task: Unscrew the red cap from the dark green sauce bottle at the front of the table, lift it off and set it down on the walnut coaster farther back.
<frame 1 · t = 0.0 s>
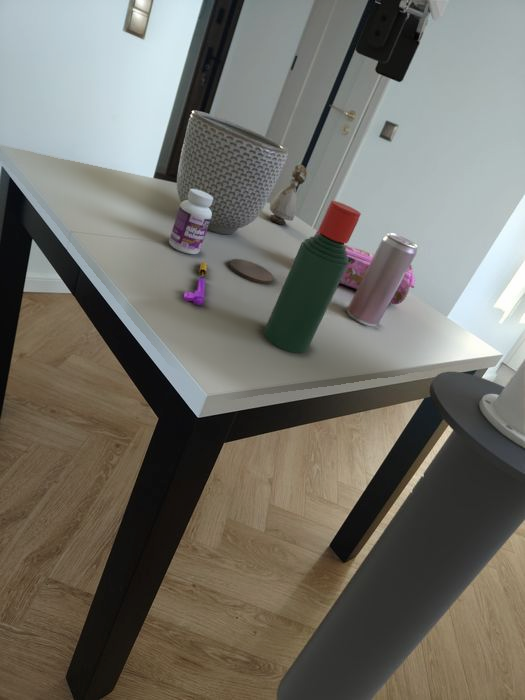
hand: (379, 68, 50), 33 cm above the table, tool pointing down, fingers open, 9 cm apart
coaster: (251, 272, 88), on the table
bottle: (285, 339, 69), on the table
purple tool: (195, 284, 75), on the table
pencil case: (348, 289, 102), on the table
cap: (344, 210, 61), point 19 cm above the table, screwed on, not yet turned
figurine: (277, 222, 130), on the table
planter: (209, 225, 104), on the table
beverage can: (361, 319, 89), on the table
pill bottle: (183, 249, 86), on the table
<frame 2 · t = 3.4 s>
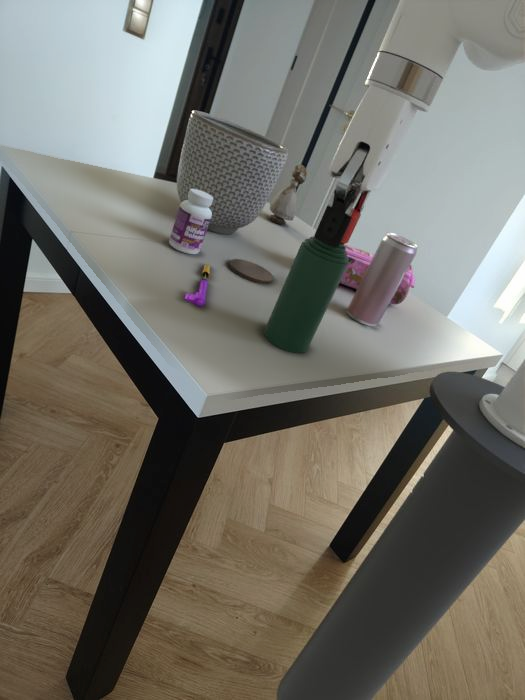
hand: (331, 239, 63), 15 cm above the table, tool pointing down, fingers closed on cap, 3 cm apart
cap: (344, 210, 61), point 19 cm above the table, screwed on, not yet turned, touching gripper
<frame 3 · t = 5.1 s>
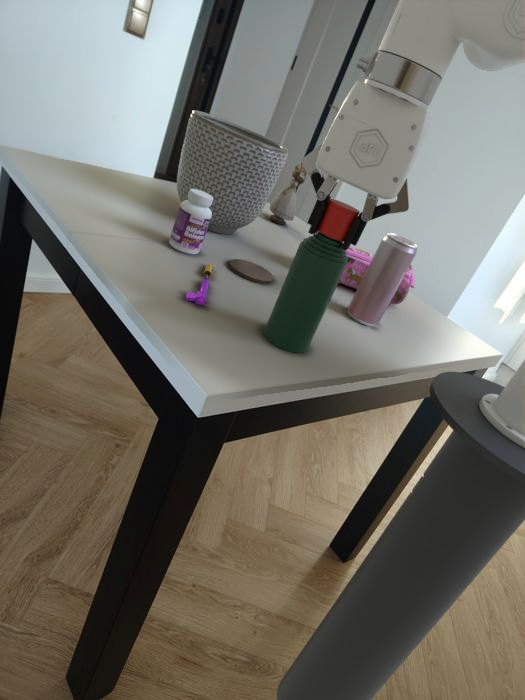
hand: (329, 238, 63), 15 cm above the table, tool pointing down, fingers closed on cap, 3 cm apart
cap: (343, 208, 61), point 19 cm above the table, turned 96° so far, risen 0.1 cm, still on its thread, touching gripper
everything else where it was.
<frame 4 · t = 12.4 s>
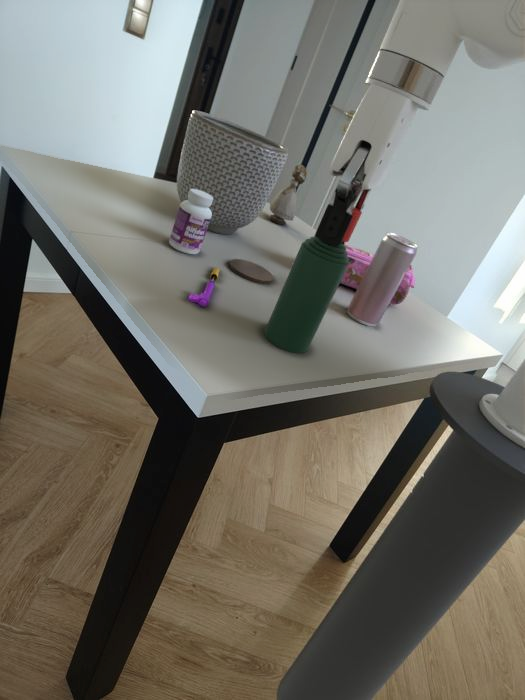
hand: (331, 238, 62), 15 cm above the table, tool pointing down, fingers closed on cap, 3 cm apart
cap: (345, 208, 61), point 19 cm above the table, turned 191° so far, risen 0.2 cm, still on its thread, touching gripper
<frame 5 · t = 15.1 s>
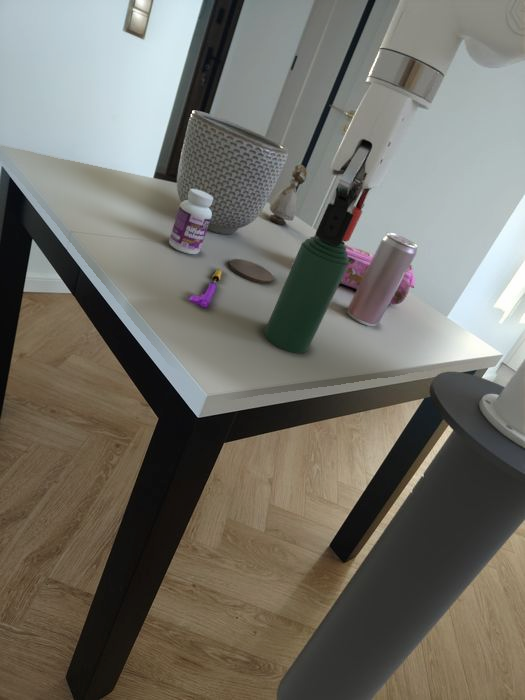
hand: (332, 237, 62), 15 cm above the table, tool pointing down, fingers closed on cap, 3 cm apart
cap: (346, 208, 61), point 19 cm above the table, turned 287° so far, risen 0.3 cm, still on its thread, touching gripper
when the fingers open (2 cm above the table, at t = 28.2 s): cap drops 2 cm, resting on coaster.
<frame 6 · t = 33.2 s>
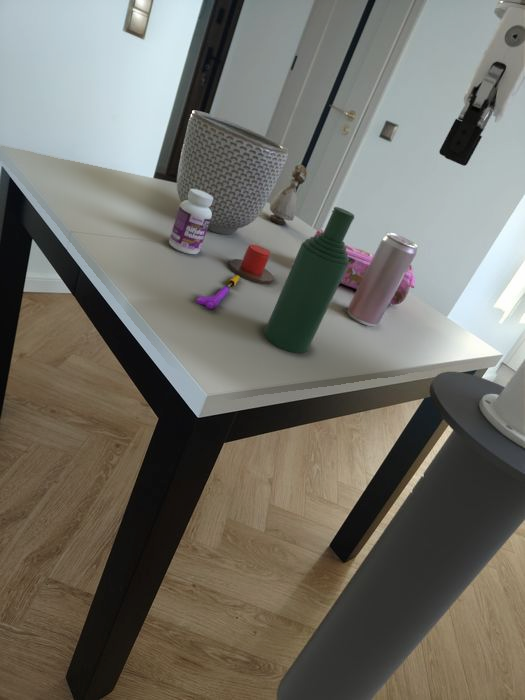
hand: (452, 160, 64), 28 cm above the table, tool pointing down, fingers open, 9 cm apart
purple tool: (218, 292, 75), on the table
cap: (258, 251, 86), point 4 cm above the table, off its thread, touching coaster
everything else where it was.
at the end: cap came off its thread; cap 0.1 cm off-centre on the coaster, point 4.0 cm above the coaster's base; the gripper is holding nothing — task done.
